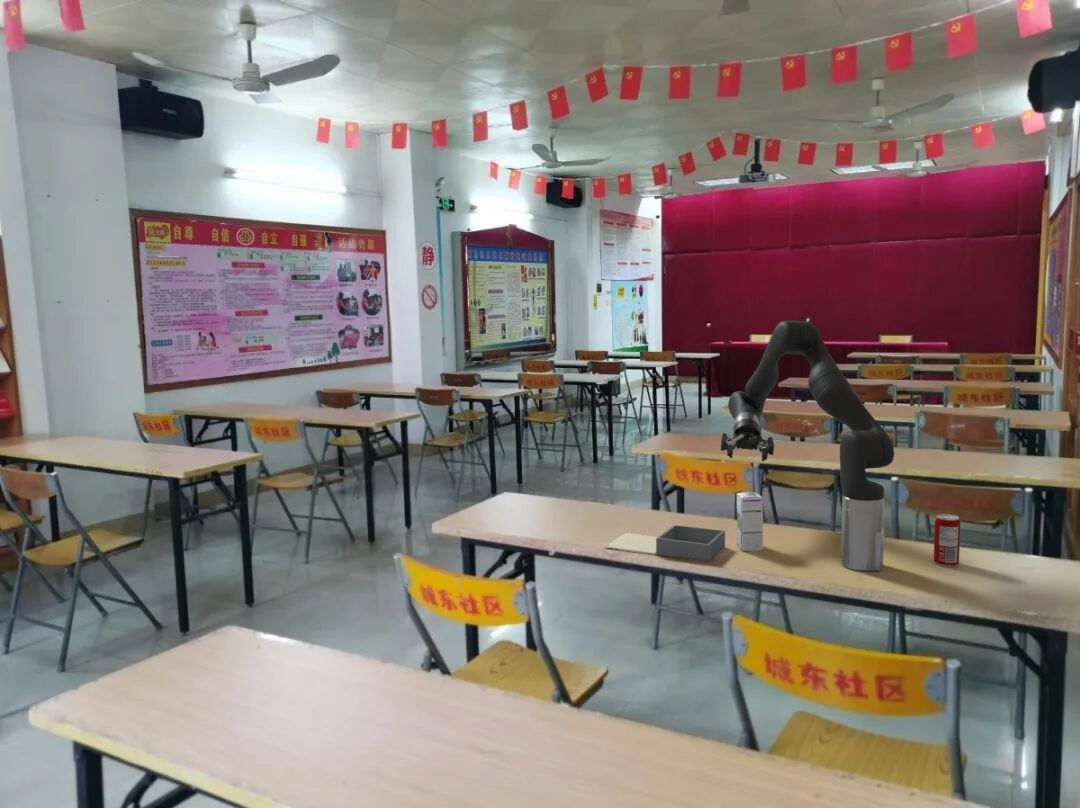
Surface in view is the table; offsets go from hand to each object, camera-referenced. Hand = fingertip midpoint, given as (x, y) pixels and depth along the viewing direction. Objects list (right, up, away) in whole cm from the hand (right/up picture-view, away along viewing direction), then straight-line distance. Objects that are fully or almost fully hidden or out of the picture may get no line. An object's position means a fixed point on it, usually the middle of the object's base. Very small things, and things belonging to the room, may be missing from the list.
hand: (747, 456), depth 213 cm
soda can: (+43, -25, -22) cm, 54 cm away
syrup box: (-1, -24, -5) cm, 25 cm away
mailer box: (-23, -24, -3) cm, 33 cm away
